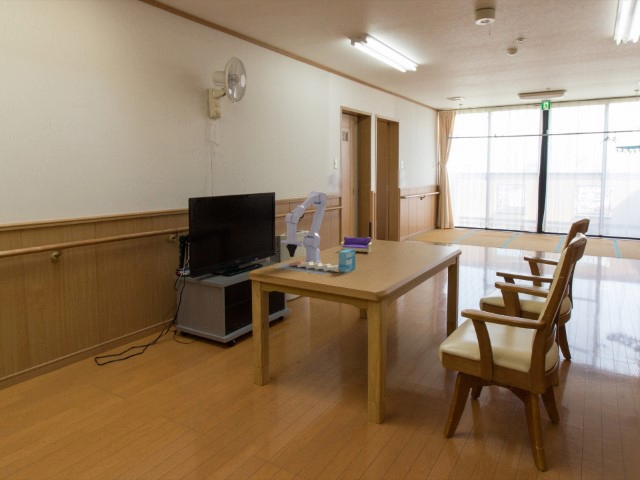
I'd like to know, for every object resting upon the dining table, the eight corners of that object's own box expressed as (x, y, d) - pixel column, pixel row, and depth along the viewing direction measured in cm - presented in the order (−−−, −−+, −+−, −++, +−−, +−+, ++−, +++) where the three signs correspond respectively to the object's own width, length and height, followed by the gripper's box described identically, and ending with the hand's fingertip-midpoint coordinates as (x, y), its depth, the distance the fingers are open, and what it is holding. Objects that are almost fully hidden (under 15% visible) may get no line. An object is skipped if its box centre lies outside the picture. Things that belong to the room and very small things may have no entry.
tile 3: (309, 264, 267) (321, 262, 263) (310, 267, 267) (322, 265, 263) (305, 266, 264) (317, 263, 259) (306, 268, 264) (318, 266, 259)
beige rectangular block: (301, 263, 270) (312, 261, 266) (301, 266, 270) (313, 263, 266) (297, 264, 267) (308, 262, 262) (297, 267, 267) (309, 265, 262)
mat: (289, 263, 281) (289, 262, 281) (338, 269, 263) (338, 268, 263) (273, 268, 266) (273, 267, 266) (323, 275, 249) (323, 274, 249)
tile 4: (318, 265, 264) (330, 263, 260) (319, 268, 264) (331, 266, 260) (314, 267, 261) (326, 264, 256) (315, 269, 261) (327, 267, 256)
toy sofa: (339, 252, 320) (340, 237, 318) (343, 250, 328) (343, 236, 326) (369, 254, 313) (369, 239, 311) (372, 251, 321) (372, 237, 320)
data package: (345, 273, 253) (345, 252, 251) (338, 272, 255) (338, 251, 254) (355, 269, 263) (355, 249, 261) (348, 268, 266) (348, 248, 264)
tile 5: (327, 266, 261) (339, 264, 257) (327, 269, 261) (340, 267, 257) (323, 268, 258) (335, 266, 253) (324, 271, 258) (336, 268, 253)
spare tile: (292, 262, 274) (304, 260, 269) (293, 265, 274) (304, 262, 269) (288, 263, 270) (300, 261, 265) (289, 266, 270) (300, 264, 265)
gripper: (277, 233, 269) (278, 256, 271) (298, 235, 261) (298, 259, 264) (284, 232, 275) (284, 254, 277) (305, 234, 267) (305, 257, 269)
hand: (291, 256), depth 271 cm, fingers closed
